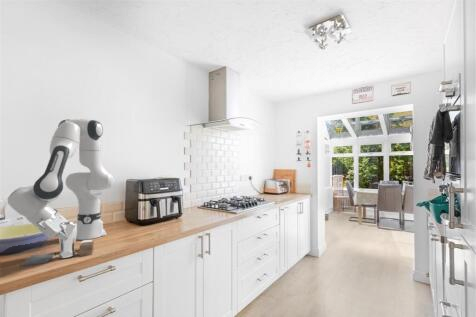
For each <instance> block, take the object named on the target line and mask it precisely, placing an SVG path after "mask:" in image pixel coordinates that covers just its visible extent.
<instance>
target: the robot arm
mask: <svg viewBox="0 0 476 317" xmlns="http://www.w3.org/2000/svg"><path fill="white" fill-rule="evenodd" d="M103 132H104V128H103V125H102V123H101V122H100V121H98V120H94V119H91V120H90V119H86V118H85V119H84V118H79V119H76V118H75V119H70V118H69V119H63V120H61V121H60V122H59V123H58V125H57V127H56V130H55V132H53V136H52V138H51V141H50V146H49V154H50V157H49V160H48V163H47V166H46V168H45V171H44V172H43V174H42V175H41V176H39V178H38V179H37V180H36V181H35V182H34V184H33V185H30V186H21V187H18V188H17V189H15V190H13V191H12V192H11V193H10V195H9V196H8V197H7V204H8V205H9V206H10V207H11V208H12V209H13V210H14V211H15V212H17V213H18V214H19V215H22V216H23V217H25V218H26V220H27V221H28V222H30V223H31V224H32V225H34V226H35V227H37V229H38V230H39V231H40V232H41V233H42V234H43V235H44V236H46V237H47V238H48V239H53V238H54V237H56V238H58V239H59V238H61V239H63V240H64V241H66V240H67V239H68V238H69V237H68V236H67V235H64V234H63V233H62V232H61V230H62V228H61V226H60V223H64V222H69V220H68V219H67V218H65V216H63V215H62V214H61V213H60V211H59V210H58V209H57V208H53V207H51V206H50V205H48V204H50V203H51V202H53V201H56V200H58V198H59V197H60V195H61V193H62V192H63V189H64V182H63V179H62V178H63V173H64V170H65V167H66V164H67V162H68V160H69V159H71V158H72V157H73V156H74V155H75V152H76V151H77V148H78V151H79V152H78V156H79V161H78V162H79V163H80V165H81V166H84V167H86V168H87V169H88V170H89V172H80V171H79V172H73V173H70V174H68V175H67V177H65V178H66V179H65V186H66V188H67V189H68V190H70V191H71V192H72V193H74V195H75V196H76V198H77V202H78V213H77V216H76V217H77V218H76V219H77V221H76V222H77V236H76V241H77V240H78V241H79V240H81V241H83V240H93V239H97V238H99V237H103V236H106V235H107V232H106V229H104V225H103V224H104V221H102V220H101V217H102V214H101V200H100V198H98V196H96V195H93V194H92V193H91V191H105V190H110V189H111V188H112V187H113V186H114V184H115V178H114V176H113V174H112V173H110V172H108V170H106V168H105V167H104V165H103V162H102V156H101V155H102V153H101V152H102V151H101V148H102V147H101V141H100V138H101V137H102V135H103ZM61 225H63V224H61Z"/></svg>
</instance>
